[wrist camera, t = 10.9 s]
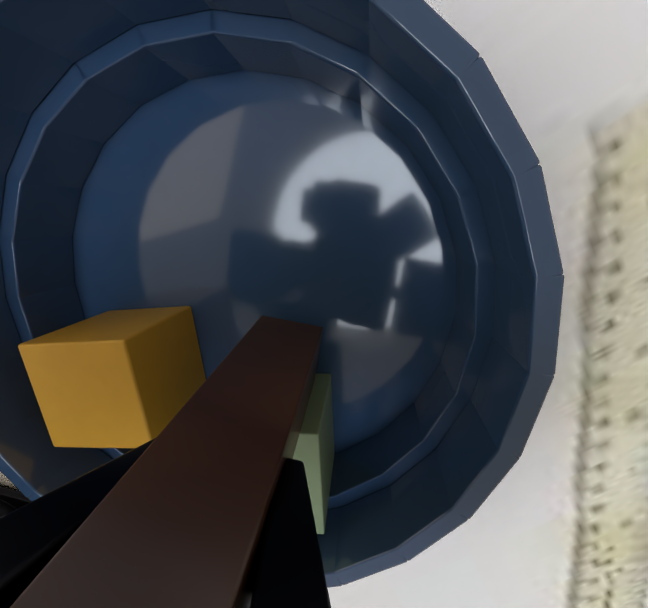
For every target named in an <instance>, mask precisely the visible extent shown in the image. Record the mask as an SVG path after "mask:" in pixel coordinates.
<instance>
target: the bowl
mask: <svg viewBox="0 0 648 608" xmlns="http://www.w3.org/2000/svg"><path fill="white" fill-rule="evenodd" d="M538 164H539V160H538V158H537V156H536V154H535V152H534V151H533V149H532V147H531V145H530V143H529V142H528V140H527V138H526V136H525V134H524V132H523V131H522V129H521V127H520V125H519V123H518V122H517V120H516V118H515V116H514V114H513V113H512V111H511V109H510V107H509V105H508V103H507V102H506V100H505V98H504V96H503V94H502V93H501V91H500V89H499V87H498V85H497V84H496V82H495V80H494V78H493V76H492V75H491V73H490V71H489V69H488V67H487V65H486V64H485V62H484V60H483V58H481V57H479V53H478V52H477V51H476V50H475V49H474V48H473V47H472V46H471V45H470V44H469V43H468V42H467V41H466V40H465V39H464V38H463V37H462V36H461V35H459V34H458V33H457V32H456V31H455V30H454V29H453V28H452V27H451V26H450V25H449V24H448V23H447V22H446V21H445V20H444V19H443V18H442V17H441V16H440V15H439V14H437V13H436V12H435V11H434V10H433V9H432V8H431V7H430V6H429V5H428V4H427V3H426V2H425V1H424V0H0V471H1V472H2V473H3V474H4V475H5V476H6V477H7V478H8V479H9V480H10V481H11V482H12V483H13V484H14V485H15V486H16V487H17V488H18V489H19V490H20V491H21V492H22V493H23V495H24V496H25V497H27V498H28V497H29V500H30V501H31V502H32V501H34V500H36V499H38V498H40V497H41V496H43V495H45V494H47V493H49V492H51V491H53V490H55V489H57V488H59V487H61V486H63V485H65V484H67V483H69V482H71V481H73V480H75V479H76V478H78V477H80V476H82V475H84V474H86V473H88V472H90V471H92V470H94V469H96V468H98V467H100V466H102V465H104V464H106V463H108V462H109V461H111V460H113V459H115V458H117V457H119V456H121V455H123V454H125V453H127V452H129V451H131V450H133V449H135V448H84V447H54V446H53V443H52V440H51V437H50V435H49V432H48V429H47V426H46V424H45V421H44V418H43V415H42V412H41V410H40V407H39V404H38V401H37V399H36V396H35V393H34V390H33V387H32V385H31V382H30V379H29V376H28V373H27V371H26V368H25V365H24V362H23V360H22V357H21V354H20V351H19V348H18V345H19V344H21V343H24V342H26V341H29V340H32V339H34V338H37V337H40V336H42V335H45V334H48V333H50V332H53V331H56V330H59V329H61V328H64V327H67V326H69V325H72V324H75V323H77V322H80V321H83V320H85V319H88V318H91V317H93V316H96V315H99V314H101V313H104V312H107V311H112V310H129V309H145V308H162V307H179V306H190V307H191V310H192V315H193V319H194V324H195V329H196V334H197V339H198V344H199V348H200V353H201V358H202V363H203V368H204V372H205V377H206V379H207V378H208V377H209V376H210V375H211V374H212V372H213V371H214V370H215V369H216V368H217V367H218V365H219V364H220V363H221V362H222V361H223V360H224V359H225V357H226V356H227V355H228V354H229V353H230V352H231V350H232V349H233V348H234V347H235V346H236V345H237V343H238V342H239V341H240V340H241V339H242V338H243V336H244V335H245V334H246V333H247V332H248V331H249V330H250V328H251V327H252V326H253V325H254V324H255V323H256V321H257V320H258V319H259V318H260V317H261V316H268V317H273V318H279V319H284V320H289V321H294V322H300V323H305V324H310V325H315V326H320V327H323V332H322V338H321V344H320V350H319V356H318V362H317V368H316V374H331V383H332V405H333V428H334V450H335V453H334V461H333V470H332V478H331V486H330V494H329V502H328V510H327V518H326V526H325V533H324V534H317V536H318V541H319V547H320V552H321V557H322V563H323V568H324V573H325V578H326V584H327V588H328V587H336V586H341V585H345V584H348V583H351V582H354V581H356V580H359V579H362V578H365V577H367V576H370V575H373V574H375V573H378V572H381V571H384V570H386V569H389V568H392V567H395V566H397V565H400V564H403V563H406V562H407V560H408V561H409V560H411V559H412V558H414V557H415V556H417V555H418V554H420V553H421V552H423V551H424V550H426V549H427V548H428V547H430V546H431V545H433V544H434V543H436V542H437V541H439V540H440V539H441V538H443V537H444V536H446V535H447V534H449V533H450V532H452V531H453V530H454V529H456V528H457V527H459V526H460V525H462V524H463V523H465V522H466V521H467V520H468V519H470V518H471V517H472V516H473V514H474V513H475V512H476V511H477V509H478V508H479V507H480V506H481V505H482V503H483V502H484V501H485V500H486V499H487V497H488V496H489V495H490V494H491V492H492V491H493V490H494V489H495V488H496V486H497V485H498V484H499V483H500V482H501V480H502V479H503V478H504V477H505V475H506V474H507V473H508V472H509V471H510V469H511V468H512V467H513V466H514V465H515V463H516V462H517V461H518V460H519V457H520V456H521V455H522V452H523V450H524V447H525V445H526V443H527V440H528V438H529V435H530V433H531V431H532V428H533V426H534V423H535V421H536V419H537V416H538V414H539V411H540V409H541V407H542V404H543V402H544V400H545V397H546V395H547V392H548V390H549V388H550V385H551V383H552V380H553V378H554V374H555V367H556V357H557V346H558V336H559V325H560V315H561V305H562V294H563V284H564V275H562V274H563V268H562V264H561V259H560V254H559V249H558V244H557V240H556V235H555V230H554V225H553V220H552V216H551V211H550V206H549V201H548V196H547V191H546V187H545V182H544V177H543V172H542V167H541V166H540V165H538Z"/></svg>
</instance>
